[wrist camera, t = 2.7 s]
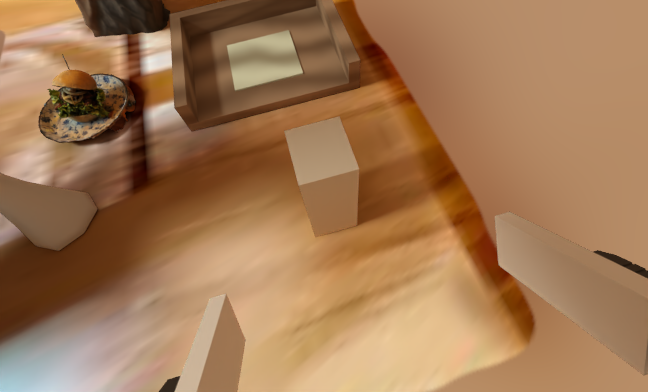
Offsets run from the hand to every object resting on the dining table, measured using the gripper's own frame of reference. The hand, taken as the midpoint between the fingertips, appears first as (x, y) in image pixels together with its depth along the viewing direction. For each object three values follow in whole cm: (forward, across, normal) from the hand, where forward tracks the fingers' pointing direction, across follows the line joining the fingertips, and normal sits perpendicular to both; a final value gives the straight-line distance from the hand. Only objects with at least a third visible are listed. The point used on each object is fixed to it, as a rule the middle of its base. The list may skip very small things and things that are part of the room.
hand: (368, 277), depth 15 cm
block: (+18, 0, -3) cm, 18 cm away
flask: (+23, -29, +2) cm, 37 cm away
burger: (+34, -27, +13) cm, 46 cm away
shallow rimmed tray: (+35, -3, +14) cm, 38 cm away
